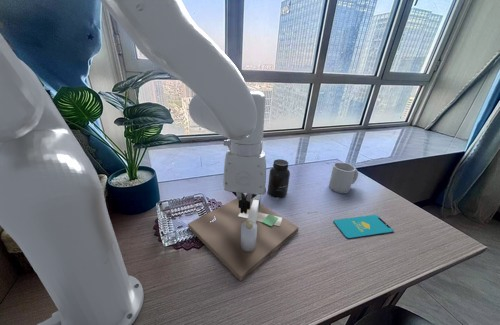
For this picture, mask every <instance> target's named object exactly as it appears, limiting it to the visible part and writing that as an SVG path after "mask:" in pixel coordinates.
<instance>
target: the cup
mask: <svg viewBox="0 0 500 325" xmlns="http://www.w3.org/2000/svg"><path fill="white" fill-rule="evenodd" d="M332 166H333V167H332V170H331V174H330V178H329V182H328V187H329V189H331V190H332V191H333V192H336V193H338V194H346V193H349V191H350V189H351V186H352V185H353V184H355V182H357V179H358V176H359V172H358V169H357V168H356V167H355V166H354V165H353V164H351V163H348V162H343V161H342V162H341V161H337V162H334V164H333V165H332Z"/></svg>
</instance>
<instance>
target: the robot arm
mask: <svg viewBox="0 0 500 325" xmlns="http://www.w3.org/2000/svg"><path fill="white" fill-rule="evenodd" d="M99 1H100V3H101V4H102V6H104V8H105V9H106V10H107V12H109V14H110V15H111V17H113V19H114V20H115V21H116V23H117V24H118V25H119V27H120V28H121V29H122V30H123V32H124V33H125V34H126V35H127V37H128V38H129V39H130V40H131V42H132V43H133V44H134V45H135V47H136V48H137V49H138V50H139V51H140V54H142V55H143V56H144V57H145V58H146V59H148V60H149V61H150V63H151V62H152V64H154V65H155V66H157V67H158V68H159V69H161V70H163V71H164V72H165V73H166V74H167V73H168V74H169V75H171V76H172V77H173V78H176V79H177V80H178V81H180V82H181V83H183V84H184V85H185V86H186V87H188V88H189V89H190V90H191V91H192V92H193V93H194V95H193V96H192V98H191V99H190V102H189V103H188V113H189V116H190V118H191V119H192V121H193V122H194V123H195V124H196V125H198V126H199V127H201V128H202V129H204V130H205V129H206V130H207V131H210V132H212V133H215V134H217V135H219V136H222V137H224V138H226V139H224V140H223V146H226V147H228V149H227V151H226V153H225V157H224V166H223V178H222V179H223V180H222V181H223V189H224V191H226V192H229V193H232V194H233V196H235V197H236V198H237V199H238V200H239V208H241V213H243V212H244V213H245V214H247V210H248V209H250V204H251V199H253V198H254V197H255V196H257V195H260V196H262V195H266V193H267V189H266V183H267V182H266V181H267V160H266V153H265V151H264V150H263V147H264V146H263V145H264V144H263V142H264V131H265V130H264V126H265V111H266V96H265V94H264V92H263V91H261V90H258V89H249V87H248V84H247V83H246V81H245V79H244V76H243V74H242V73H241V71H240V70H239V69H238V67H237V66H236V65H235V63H234V62H233V61H232V60H231V59H230V58H229V56H227V54H226V53H225V52H224V51H223V50H222V49H220V47H219V46H218V45H217V44H216V43H215V42H214V41H213V39H211V38H210V36H208V35H207V33H205V32H204V31H203V30H202V29H201V28H200V27H199V26H198V25H197V24H196V23H195V21H194V19H192V17H191V15H190V14H189V12H188V10H187V8H186V6H185V4H184V3H183V1H182V0H99ZM75 136H76V135H74V134H73V131H72V130H71V128H70V127H69V125H68V124H67V123H66V121H65V118H64V117H63V116H62V115H61V113H60V110H59V109H58V108H57V106H56V105H55V103H54V102H53V100H52V98H51V97H50V95H49V94H48V92H47V90H46V89H45V88H44V86H43V84H42V83H41V80H39V78H38V76H37V74H35V72H34V71H33V70H32V68H30V67H29V65H27V64H26V63H25V62H24V61H23V60H21V59H20V58H19V57H18V56H17V55H16V53H15V52H14V51H13V50H12V48H11V46H10V45H9V44H8V42H7V40H6V39H5V38H4V36H3V34H2V33H1V32H0V226H1V228H2V229H3V230H4V231H5V232H6V233H7V234H8V235H9V237H10V238H12V240H13V241H14V242H15V244H17V246H18V247H19V248H20V250H21V251H22V253H23V255H24V256H25V258H26V259H27V261H28V262H29V264H30V266H31V267H32V268H33V271H34V272H35V273H36V274H37V276H38V278H39V280H40V282H41V283H42V285H43V286H44V288H45V290H46V291H47V293H48V294H49V297H50V298H51V300H52V301H53V303H54V305H55V306H56V308H57V311H55V312H53V313H52V314H51V316H50V317H49V318H47V319H45V320H44V321H42V322H39V323H37V324H36V325H132V324H134V322H135V320H136V319H137V317H138V316H139V315H140V312H141V310H142V307H143V303H144V296H145V293H144V289H143V286H142V283H141V282H140V281H139V279H138V278H136V277H134V276H132V275H129V274H128V271H127V268H126V264H125V262H124V258H123V256H122V251H121V249H120V245H119V243H118V240H117V237H116V234H115V231H114V228H113V224H112V221H111V219H110V215H109V212H108V208H107V203H106V199H105V194H104V190H103V186H102V182H101V181H100V178H99V175H98V172H97V170H96V169H95V167H94V165H93V163H92V162H91V160H90V158H89V156H87V154H86V153H85V151H84V149H83V147H82V146H81V144H80V143H79V141H78V139H77V138H76V137H75ZM245 194H246V197H245Z"/></svg>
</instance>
